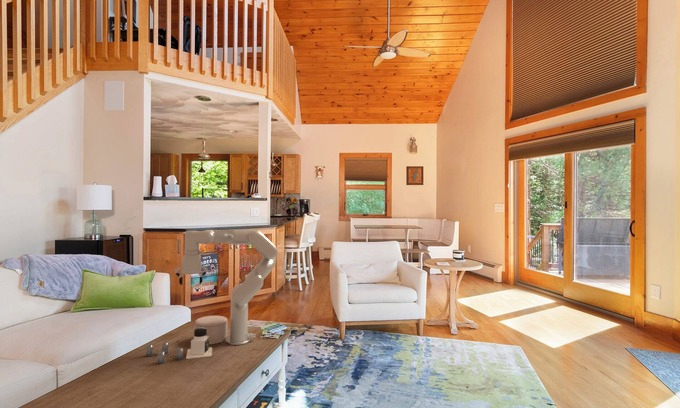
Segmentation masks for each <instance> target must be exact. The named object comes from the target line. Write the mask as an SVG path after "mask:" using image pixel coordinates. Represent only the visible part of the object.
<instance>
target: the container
mask: <svg viewBox="0 0 680 408" xmlns="http://www.w3.org/2000/svg"><path fill="white" fill-rule="evenodd" d="M228 322H229V320H228V318H227V317H226V316H224V315H223V316H222V315H206V316H201V317H199V318H197V319H195V321H194V323H193V324H194V328H193V329H194V330H195V329H197V328H206V329H207V336H209V345H216V344H220V343H222V342H224V341H225V339H227V337H228ZM215 343H216V344H215Z"/></svg>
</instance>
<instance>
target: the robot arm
mask: <svg viewBox="0 0 680 408" xmlns="http://www.w3.org/2000/svg"><path fill="white" fill-rule="evenodd" d="M211 243H212V244H213V243H214V244H216V243H217V244H218V243H219V244H227V245H231V246H232V245H233V246H235V245H239V246H241V245H244V246H245V245H246V246H247V245H250V246H252V247H253V248H254V249H256V251H258V253H260V254H261V255H262V256H261V257H262V258H261V260H260V261H259V263H258V264H256V266H254V267H253V269H252V270H251V271H250V272H248V273H247V274H246V276H245V278H244V279H245V280H244V281H243V282H242V283H241V284H237V285H235V286H234V287H233V288H232V289H231V292H230V316H229V317H230V318H229V319H230V323H229V325H230V326H229V337H228V338H226V343H227V344H229V345H232V346H241V345H242V346H243V345H245V344H248V343H249V342H250V341H251V338H256V333H253V332H251V333H249V331H248V324H249V323H248V320H249V318H248V317H249V302H250V301H251V300H252V299H253V298H254V297H255V296H256V294H257V293H258V292H259V291H260V290H261V289H262V288H263V286H264V280H265V279H266V278H267V276H268V275H269V274H270V273H271V272H272V271H273V269H274V268H275V266H276V263H277V256H278V254H279V250H278V248H277V246H276V245H275V244H274V243H272V242H271V240H269V238H267V237H266V236H265V235H264V234H263V233H262V232H261V231H259V230H257V229H205V230H201V231H200V230H199V231H198V230H186V231H185V232H184V255H182V259H181V265H180V266H178V267H177V268H175V269H173V271H174V273H175V275H176V276H177V277H178V278H179V279H178V280H179V281H178V282H179V285H180V286H182V285H183V280H184V279H183V276H184V275H199V285H202V283H203V277H204V276H205V275H206V274H207V272H208V271H209V269H208V267H205V266H203V265H202V257H201V254H203V250H200V244H202V245H209V244H211ZM202 269H203V270H204V271H203V272H202ZM179 271H180V272H179Z"/></svg>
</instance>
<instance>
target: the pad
mask: <svg viewBox="0 0 680 408" xmlns="http://www.w3.org/2000/svg"><path fill="white" fill-rule="evenodd" d="M212 352H213V347H212V346H211V347H210V346H209V350H208V351H207V352H206V353H205V354H201V355H191V348H188V349H187V352H186V357H185V360H190V359H201V358H202V359H203V358H210V357H212V356H213V354H212Z"/></svg>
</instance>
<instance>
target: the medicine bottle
mask: <svg viewBox="0 0 680 408" xmlns="http://www.w3.org/2000/svg"><path fill="white" fill-rule="evenodd" d="M193 333H194V334H193V339H191V340H190V349H191V355H201V354H205V353H206V352H207V351H208V350H209V347H210V344H209V336H207V329H206V328H197V329H195V330H194V332H193Z"/></svg>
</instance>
